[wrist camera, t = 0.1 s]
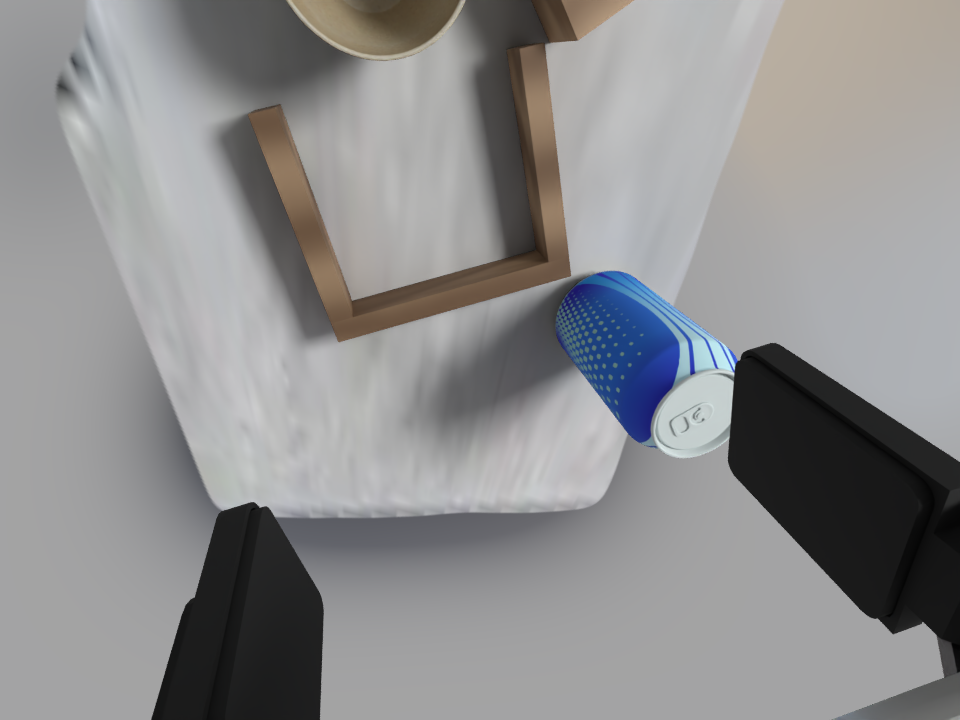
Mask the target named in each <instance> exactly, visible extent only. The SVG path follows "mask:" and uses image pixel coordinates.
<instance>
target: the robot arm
mask: <svg viewBox="0 0 960 720" xmlns="http://www.w3.org/2000/svg"><path fill="white" fill-rule="evenodd" d="M728 463H729V466H730V469H731V471H732V473H733V474H734V476H735V477H736V478H737V479H738V480H739V481H740V482H741V483H742V484H743V485H744V486H745V487H746V489H747V490H748V491H749V492H750V493H751V494H752V495H753V496H754V497H755V498H756V499H757V500H758V501H759V502H760V504H761V505H762V506H763V507H764V508H765V509H766V510H767V511H768V512H769V513H770V514H771V515H772V516H773V517H774V518H775V519H776V520H777V522H778V523H779V524H780V525H781V526H782V527H783V528H784V529H785V530H786V531H787V532H788V533H789V534H790V535H791V536H792V538H793V539H795V541H796V542H797V543H798V544H799V545H800V546H801V547H802V548H803V549H804V550H805V551H806V552H807V553H808V554H809V556H810V557H811V558H812V559H813V560H814V561H815V562H816V563H817V564H818V565H819V566H820V567H821V568H822V569H823V570H824V571H825V573H826V574H827V575H828V576H829V577H830V578H831V579H832V580H833V581H834V582H835V583H836V584H837V585H838V586H839V587H840V588H841V589H842V591H843V592H844V593H845V594H846V595H847V596H848V597H849V598H850V599H851V600H852V601H853V602H854V603H855V604H856V605H857V606H858V608H859V609H860V610H861V611H862V612H864V613H865V614H866V615H867V616H869V617H871V618H874V619H876V618H878V619H879V620H880V621H881V622H882V623H883V624H884V625H885V626H886V627H887V628H888V629H889V631H890V632H891V633H892V634H895V633H898V632H901V631H904V630H906V629H909V628H912V627H914V626H917V625H920V624H922V622H924V623H925V624H926V625H927V626H928V627H929V628H930V629H931V630H932V631H933V632H934V633H935V634H936V635H937V640H938V646H939V651H940V656H941V662H942V667H943V673H944V678H942V679H940V680H937V681H934V682H931V683H929V684H926V685H923V686H921V687H918V688H915V689H912V690H910V691H907V692H904V693H902V694H899V695H897V696H894V697H891V698H888V699H886V700H883V701H880V702H878V703H875V704H872V705H870V706H867V707H865V708H862V709H859V710H856V711H854V712H851V713H849V714H846V715H843V716H841V717H838V718H835V719H833V720H960V462H959V461H957V460H956V459H954V458H953V457H951V456H950V455H948V454H947V453H945V452H944V451H942V450H940V449H939V448H937V447H936V446H934V445H933V444H931V443H930V442H928V441H927V440H925V439H924V438H922V437H921V436H919V435H917V434H916V433H914V432H913V431H911V430H910V429H908V428H907V427H905V426H904V425H902V424H901V423H899V422H897V421H896V420H894V419H893V418H891V417H890V416H888V415H887V414H885V413H883V412H882V411H880V410H879V409H878V408H876V407H874V406H873V405H871V404H870V403H868V402H867V401H865V400H864V399H862V398H861V397H859V396H858V395H856V394H855V393H853V392H851V391H850V390H848V389H847V388H845V387H843V386H842V385H840V384H839V383H838V382H836V381H834V380H833V379H832V378H830V377H828V376H827V375H825V374H824V373H822V372H821V371H819V370H818V369H816V368H815V367H813V366H811V365H810V364H808V363H807V362H805V361H804V360H802V359H801V358H799V357H798V356H796V355H795V354H793V353H792V352H790V351H789V350H786V349H785V348H784V347H782V346H781V345H779V344H776V343H770V344H767V345H763V346H760V347H757V348H754V349H750V350H747V351H745V352H743V354H742V356H741V360H740V361H737V363H736V364H735V371H734V384H733V398H732V411H731V424H730V438H729V451H728ZM323 612H324V610H323V602H322V598H321V595H320V593H319V591H318V589H317V587H316V586H315V584H314V582H313V581H312V579H311V577H310V576H309V574H308V572H307V571H306V569H305V568H304V566H303V564H302V563H301V561H300V559H299V557H298V556H297V554H296V552H295V550H294V549H293V547H292V545H291V544H290V542H289V540H288V539H287V537H286V536H285V534H284V532H283V530H282V529H281V527H280V525H279V524H278V522H277V520H276V519H275V517H274V515H273V513H272V512H271V510H270V509H269V508H268V507H267V506H266V507H261V508H259V506H258V505H257V504H256V503H254V502H250V503H247V504H244V505H241V506H237V507H234V508H231V509H228V510H224V511H221V512H220V513H219V514H218V517H217V519H216V523H215V526H214V530H213V534H212V537H211V541H210V544H209V548H208V552H207V555H206V559H205V562H204V566H203V570H202V573H201V577H200V580H199V584H198V588H197V592H196V595H195V598H193V599H191V600H190V601H189V602H188V603H187V604H186V606H185V609H184V611H183V614H182V616H181V620H180V623H179V626H178V630H177V633H176V637H175V640H174V644H173V647H172V650H171V654H170V657H169V661H168V664H167V668H166V671H165V675H164V678H163V682H162V685H161V689H160V692H159V695H158V699H157V702H156V706H155V709H154V712H153V716H152V719H151V720H320V699H321V672H322V644H323V643H322V642H323V615H324V613H323Z"/></svg>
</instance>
